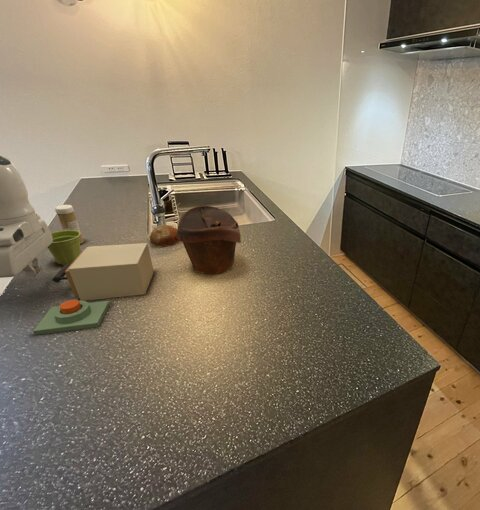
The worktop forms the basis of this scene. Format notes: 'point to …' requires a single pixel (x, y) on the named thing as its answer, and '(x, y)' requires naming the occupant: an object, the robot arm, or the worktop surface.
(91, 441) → the worktop surface
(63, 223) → the sprinkles bottle
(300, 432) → the worktop surface
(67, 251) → the plant pot
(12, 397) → the worktop surface
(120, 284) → the cabinet
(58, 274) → the drawer
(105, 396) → the worktop surface
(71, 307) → the button
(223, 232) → the chocolate muffin
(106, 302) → the panel
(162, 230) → the bread roll
